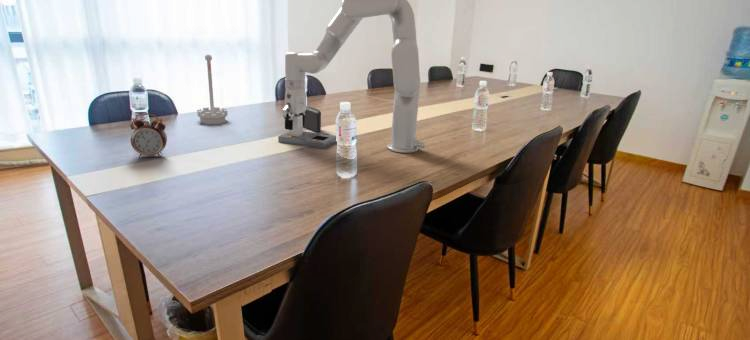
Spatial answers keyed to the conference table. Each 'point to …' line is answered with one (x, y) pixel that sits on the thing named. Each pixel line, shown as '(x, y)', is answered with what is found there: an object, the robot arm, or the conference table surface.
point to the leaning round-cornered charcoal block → (312, 119)
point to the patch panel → (309, 139)
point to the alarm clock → (148, 136)
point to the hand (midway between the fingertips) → (294, 126)
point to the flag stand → (211, 103)
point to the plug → (297, 126)
